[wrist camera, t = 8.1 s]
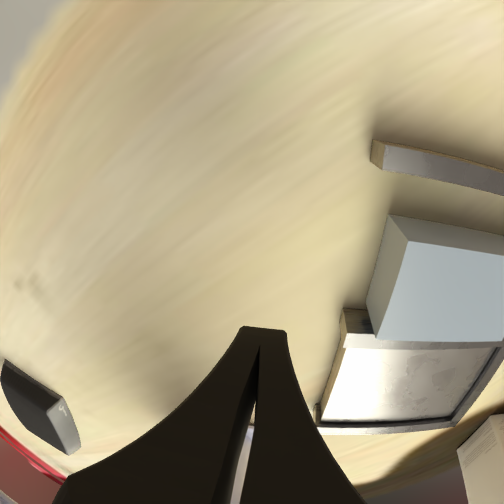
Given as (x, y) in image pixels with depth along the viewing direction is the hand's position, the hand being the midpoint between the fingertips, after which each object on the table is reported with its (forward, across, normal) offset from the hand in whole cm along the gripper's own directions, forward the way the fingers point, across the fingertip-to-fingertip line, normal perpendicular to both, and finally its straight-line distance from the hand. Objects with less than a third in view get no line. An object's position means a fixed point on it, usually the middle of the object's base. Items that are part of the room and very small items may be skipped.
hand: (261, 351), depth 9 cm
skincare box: (+10, -30, +24) cm, 40 cm away
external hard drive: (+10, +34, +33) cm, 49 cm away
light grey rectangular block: (+10, -11, +1) cm, 15 cm away
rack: (+9, -11, +5) cm, 15 cm away
